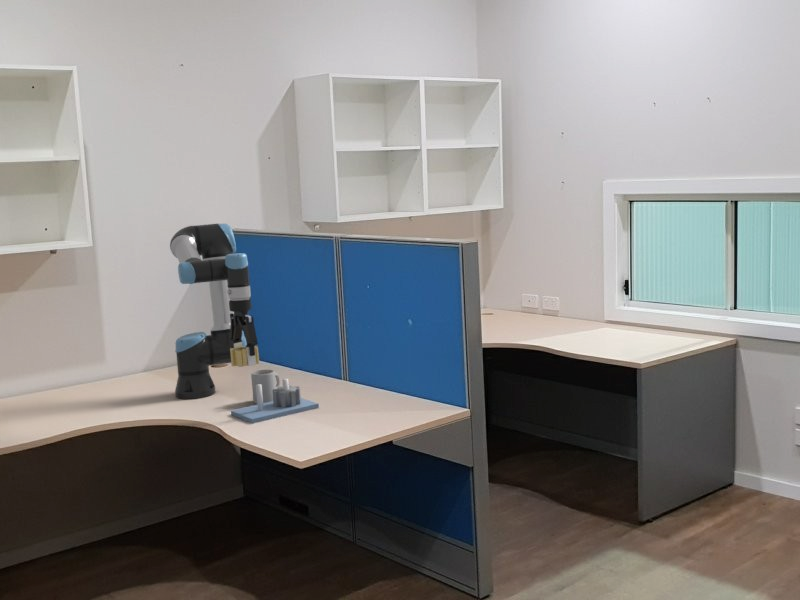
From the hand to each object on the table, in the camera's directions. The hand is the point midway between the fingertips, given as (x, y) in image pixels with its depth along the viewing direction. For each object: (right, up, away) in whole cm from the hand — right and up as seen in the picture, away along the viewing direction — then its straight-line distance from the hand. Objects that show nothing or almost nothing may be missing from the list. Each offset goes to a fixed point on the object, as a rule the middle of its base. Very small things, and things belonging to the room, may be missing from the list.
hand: (245, 363), depth 320 cm
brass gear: (0, 0, 0) cm, 0 cm away
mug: (+5, -15, +22) cm, 27 cm away
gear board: (+9, -17, +6) cm, 20 cm away
